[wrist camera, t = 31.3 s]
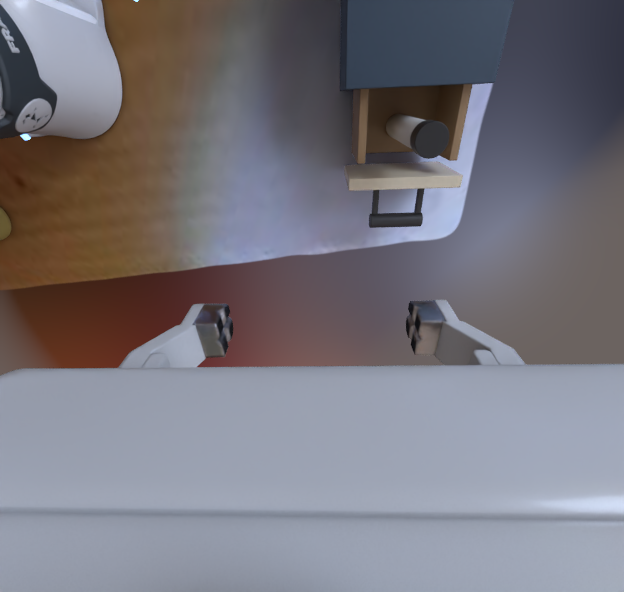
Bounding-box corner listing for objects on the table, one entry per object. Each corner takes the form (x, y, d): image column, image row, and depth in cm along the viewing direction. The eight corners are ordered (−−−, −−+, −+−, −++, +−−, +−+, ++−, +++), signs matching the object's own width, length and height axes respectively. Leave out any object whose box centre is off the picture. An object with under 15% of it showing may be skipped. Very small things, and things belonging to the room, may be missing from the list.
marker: (380, 125, 35) (408, 139, 24) (399, 107, 34) (438, 112, 23) (393, 143, 36) (426, 165, 25) (412, 126, 35) (456, 141, 24)
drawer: (429, 211, 41) (450, 232, 35) (343, 213, 42) (347, 235, 35) (461, 30, 31) (498, 12, 25) (346, 36, 32) (353, 21, 25)
